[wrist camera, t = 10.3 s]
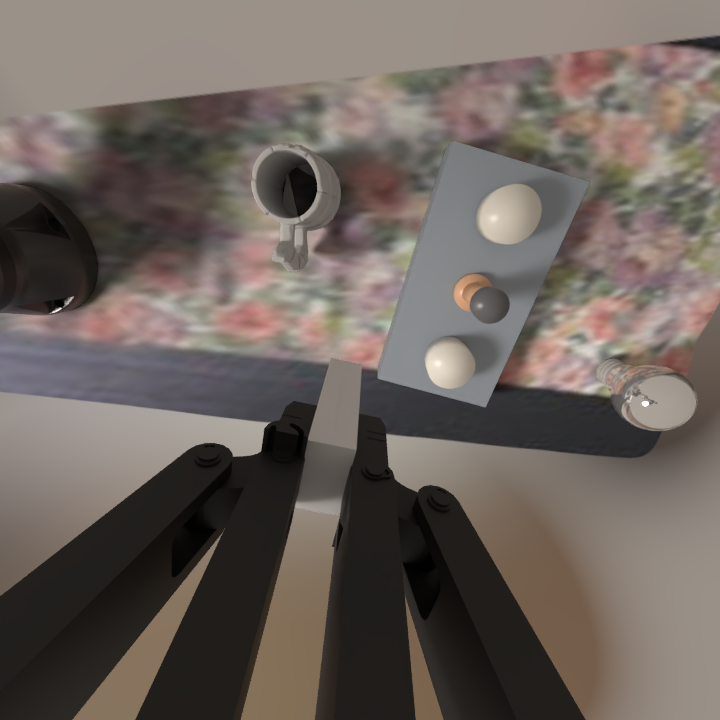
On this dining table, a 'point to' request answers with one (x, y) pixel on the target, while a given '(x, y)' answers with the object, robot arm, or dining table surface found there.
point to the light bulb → (648, 394)
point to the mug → (283, 210)
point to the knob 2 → (508, 214)
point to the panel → (474, 269)
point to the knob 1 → (449, 362)
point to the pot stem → (481, 298)
